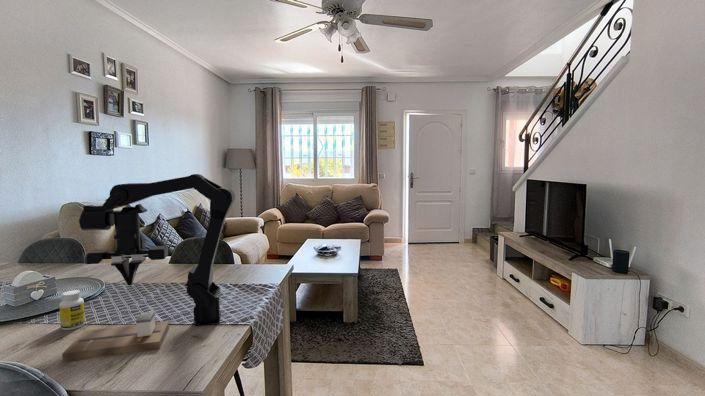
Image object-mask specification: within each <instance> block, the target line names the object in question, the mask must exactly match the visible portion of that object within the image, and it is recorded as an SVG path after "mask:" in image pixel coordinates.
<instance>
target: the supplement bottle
mask: <svg viewBox="0 0 705 396" xmlns="http://www.w3.org/2000/svg"><path fill="white" fill-rule="evenodd" d="M61 297H62V298H61V299H62V300H61V301H60V302H59V304H58V306H59V321H60V322H59V323H60V329H61V330H63V331H72V330H77V329H79V328H82V327H83V326H85V323H86V318H85V316H86V315H85V301H84V298H83V297H81V290H78V289H76V290H75V289H74V290H68V291H65V292H62V294H61Z"/></svg>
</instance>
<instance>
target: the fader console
mask: <svg viewBox="0 0 705 396" xmlns="http://www.w3.org/2000/svg"><path fill="white" fill-rule="evenodd" d="M169 330H170V321H168V320H167V321H159V322H158V321H157V322H155V328H154V330H153V332H152V334H151V335H149V336H141V337H137V324H132V325H123V326H114V327H113V326H112V327H105V328H97V329H87V330H83V332H81V334H80V335H79V336H78V337H77V338H76V339H74V340H73V342H72V343H71V344H70V345H69V346H68V347H67V348H66V349H65V350H64V351H63V352H62V355H61V356H62V363H65V362H67V363H68V362H72V361H73V362H74V361H80V360H82V361H83V360H88V359H95V358H97V359H98V358H103V357H104V358H105V357H110V356H111V357H112V356H118V355H126V354H134V353H143V352H149V351H150V352H151V351H157V350H160V349H161V347H162V345H163V343H164V341H165V339H166V336H167V334H168V332H169Z"/></svg>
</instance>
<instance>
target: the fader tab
mask: <svg viewBox="0 0 705 396" xmlns="http://www.w3.org/2000/svg"><path fill="white" fill-rule="evenodd" d="M155 323H156V311H144V312H141V313H140V314H139V316H138V317H137V319H136V320H135V324H136V325H137V337H141V336H149V335H151V334H152V332H153V330H154V328H155Z"/></svg>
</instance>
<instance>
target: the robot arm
mask: <svg viewBox="0 0 705 396" xmlns="http://www.w3.org/2000/svg"><path fill="white" fill-rule="evenodd" d="M190 189H191V190H192V189H194V190H195V191H196V192H198V193H199V194H201V195H202V196H203V197H204V198H206V199H208V200H210V203H209V216H210V217H209V222H208V226H207V229H206V233H205V236H204V241H203V246H202V249H201V252H200V257H199V259H198V264H197V265H196V266H193V267H192V268H191V269H190V270H189V271H188V273H187V281H186V283H185V284H184V287H186V294H187V295H188V296H189V297H190V298H191V299H192V301H194V306H193V322H195V324H194V326H195V327H199V326H209V325H216V324H220V323H221V316H222V314H221V304H220V303H221V300H220V296H218V295H220V291H221V287H220V286H219V285H217V284H216V283H215V282H214V281H213V279H214V262H215V257H216V254H217V251H218V246H219V243H220V238H221V237H222V236H221V235H222V231H223V228H224V223H225V220H226V218H227V216H228V214H229V212H230V211H231V208H232V206H233V204H234V202H235V200H236V195H235V193H234V191H233V190H232V188H230V187H227V186H226V187H225V186H220V185H219V184H217V183H216V182H213V181H212V180H210V179H208V178H206V177H205V176H204V175H202V174H200V173H193V174H191V175H188V176H187V175H186V176H182V177H177V178H176V177H175V178H171V179H170V178H169V179H164V180H160V181H155V182H136V183H135V182H132V183H131V182H129V183H120V184H115V185H114V186H112V188H111V189H110V190H109V195H108V196H109V197H107V199H106V200H105V201H104V203H103V204H102V205H93V204H87V205H83V206H82V208H83V209H82V211H81V213H80V217H79V219H78V223H79V227H80V229H81V230H82V231H87V232H88V231H109V230H110V229H111V228H112V227H114V235H113V239H114V240H115V250H114V251H111V250H110V249H109V248H100V249H99V248H97V249H96V248H95V249H93V250H91V251H89V252H88V253H87V254H85V257H84V261H85V262H84V263H85V265H97V264H100V263H101V262H102V261H103V260H111V263H110V266H112V267H114V268H115V269H116V270H117V271H118V272H119V273H120V275H121V276H122V278H123V279H124V281H125V282H126V284H127V286H132V285H133V284H134V281H135V277H136V274H137V271H138V269H139V266H140V265H142V264H143V263H144V262H145V261H146V260H147V258H148V259H150V260H151V261H159V260H160V261H161V260H165V259H166V258H167V257H168V256H169V248H168V246H166V245H155V246H154V245H152V246H151V247H150V248H149V249H146V248H145V247H146V238H145V237H143V236H142V233H141V230H140V214H143V213H144V214H145V213H146V212H148V209H147V208H145V207H144V206H143V205H142V204H141V203H138V204H136V205H135V206H129V205H132V204H135V203H137V202H141V201H143V200H146V199H149V198H151V197H153V196H154V197H155V196H160V195H165V194H171V193H175V192H180V191H186V190H190ZM127 205H128V206H127ZM118 208H122V209H119V210H115V209H118ZM130 258H131V261H130Z"/></svg>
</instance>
